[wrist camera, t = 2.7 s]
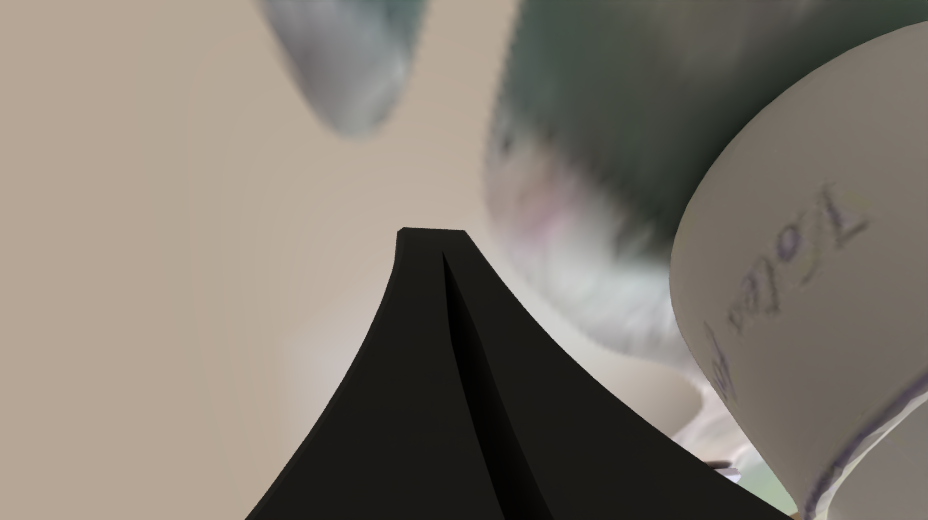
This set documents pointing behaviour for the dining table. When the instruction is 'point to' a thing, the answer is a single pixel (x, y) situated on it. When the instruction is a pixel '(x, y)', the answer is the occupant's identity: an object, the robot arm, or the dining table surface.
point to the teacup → (822, 282)
